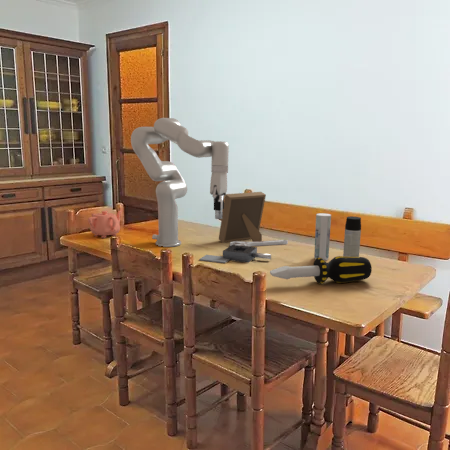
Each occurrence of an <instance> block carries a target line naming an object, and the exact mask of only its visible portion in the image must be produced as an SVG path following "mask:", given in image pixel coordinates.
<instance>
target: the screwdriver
mask: <svg viewBox="0 0 450 450" xmlns="http://www.w3.org/2000/svg"><path fill="white" fill-rule="evenodd" d="M372 271H373V269H372V263H371V261H370V260H369V259H368V258H367V257H364V256H359V257H348V256H343V255H342V256H341V255H337V256H334V257H333V258H331V260H330V261H328V262H326V260H323V259H322V258H319V257H318V258H316V259H315V258H314V261H313V264H312V265H302V266H288V265H283V266H279V267H277V268H275V269H270V270H269V274H270V276H272V277H274V278H278V279H279V278H280V279H284V280H290V279H296V278H310V277H314V281H316V283H317V284H319V285H322V284H324V283H326V282H327V280H328V279H330V280H332V281H333V282H335V283H338V284H342V283H348V282H349V283H350V282H356V281H363V280H366V279H369V278H370V276H371V274H372Z"/></svg>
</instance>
